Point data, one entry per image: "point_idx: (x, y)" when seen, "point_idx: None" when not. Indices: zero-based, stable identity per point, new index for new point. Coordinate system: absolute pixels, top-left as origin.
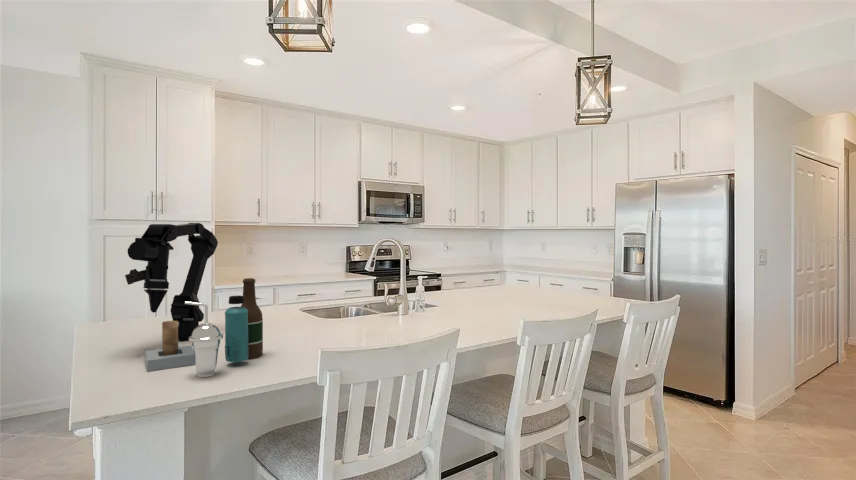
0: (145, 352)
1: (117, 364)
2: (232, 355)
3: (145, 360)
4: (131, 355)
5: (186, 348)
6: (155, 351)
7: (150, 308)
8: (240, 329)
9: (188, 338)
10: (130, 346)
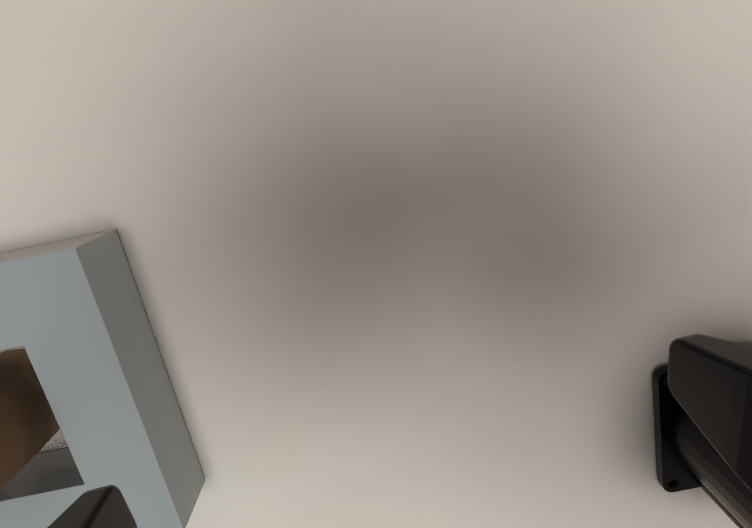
0: (54, 251)
1: (60, 40)
2: None
3: (107, 231)
4: (328, 92)
5: None
6: (37, 327)
7: (711, 357)
8: None
9: (670, 428)
10: (670, 18)
